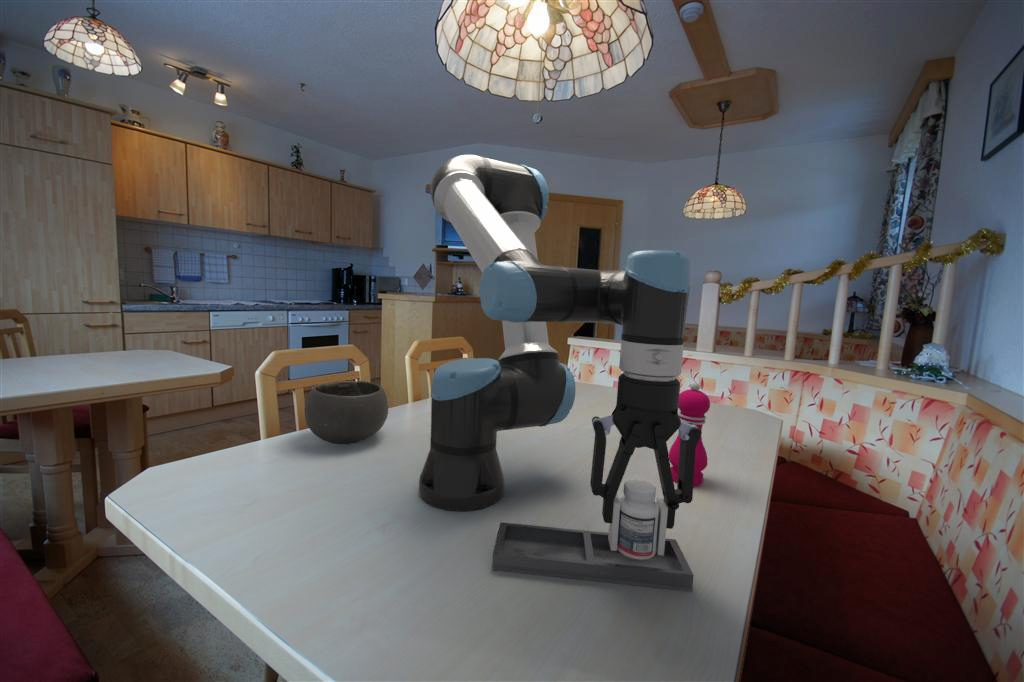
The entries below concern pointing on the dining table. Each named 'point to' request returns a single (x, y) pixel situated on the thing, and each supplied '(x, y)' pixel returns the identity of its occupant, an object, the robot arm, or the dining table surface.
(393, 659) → the dining table surface
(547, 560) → the tray
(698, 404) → the pepper mill
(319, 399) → the bowl
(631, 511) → the pill bottle
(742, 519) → the dining table surface
